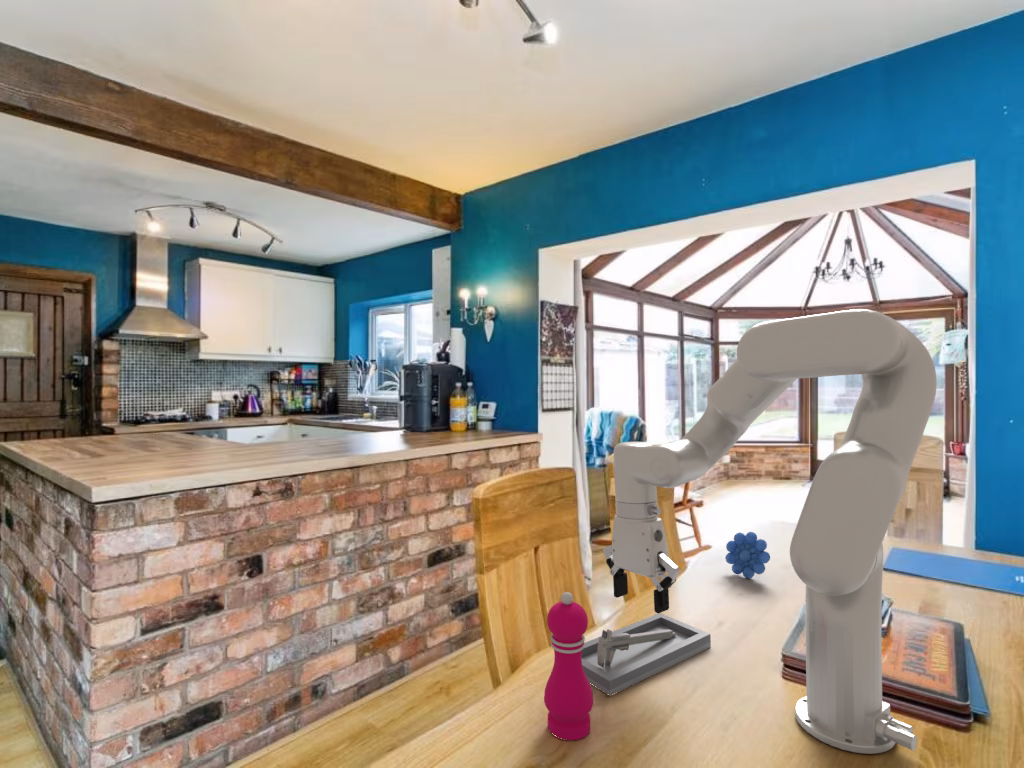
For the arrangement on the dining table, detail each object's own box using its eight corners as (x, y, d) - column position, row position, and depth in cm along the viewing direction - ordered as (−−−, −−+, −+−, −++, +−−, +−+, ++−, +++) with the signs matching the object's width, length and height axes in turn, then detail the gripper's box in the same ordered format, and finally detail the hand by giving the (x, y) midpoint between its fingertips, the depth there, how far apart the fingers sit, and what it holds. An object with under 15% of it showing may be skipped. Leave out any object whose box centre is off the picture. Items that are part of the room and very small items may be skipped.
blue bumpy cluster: (778, 580, 139) (777, 532, 139) (765, 586, 135) (764, 537, 134) (734, 568, 148) (734, 523, 148) (721, 574, 144) (720, 528, 144)
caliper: (601, 670, 96) (601, 634, 96) (597, 667, 97) (596, 631, 97) (676, 636, 108) (676, 604, 108) (672, 634, 109) (671, 602, 109)
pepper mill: (589, 712, 85) (587, 582, 85) (598, 742, 78) (595, 601, 78) (542, 713, 85) (540, 584, 85) (547, 744, 78) (544, 603, 78)
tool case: (710, 647, 105) (710, 634, 105) (609, 696, 89) (609, 681, 89) (660, 624, 115) (659, 612, 115) (561, 666, 99) (560, 652, 99)
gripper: (688, 513, 97) (693, 611, 97) (616, 500, 111) (620, 585, 111) (660, 521, 93) (665, 623, 92) (589, 506, 107) (592, 595, 107)
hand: (640, 603), depth 102 cm, fingers open, 9 cm apart
